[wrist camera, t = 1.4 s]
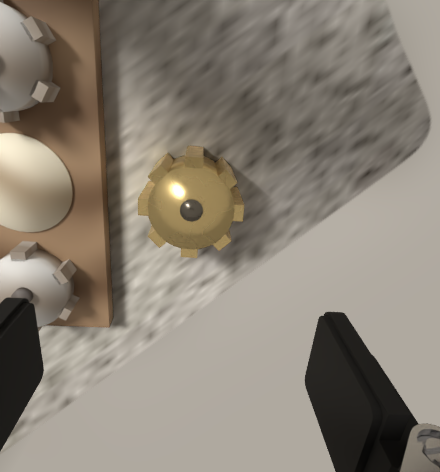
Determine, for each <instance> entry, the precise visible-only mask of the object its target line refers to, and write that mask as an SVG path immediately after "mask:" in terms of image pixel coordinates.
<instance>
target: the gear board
mask: <svg viewBox="0 0 440 472" xmlns="http://www.w3.org/2000/svg"><path fill="white" fill-rule="evenodd" d="M8 297H10V298H26V299H28V300H29V303H33V304H34V307H35V313H36V320H37V326H38V332H39V330H40V329H41V327H42V326H45V325H54V326H83V327H110V324H111V322H112V319H113V301H112V280H111V259H110V237H109V216H108V195H107V173H106V152H105V131H104V109H103V88H102V67H101V45H100V24H99V3H98V0H0V303H1V302H2V301H3V300H4V299H5V298H8Z"/></svg>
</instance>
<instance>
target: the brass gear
mask: <svg viewBox="0 0 440 472" xmlns="http://www.w3.org/2000/svg"><path fill="white" fill-rule="evenodd" d="M148 177H149V178H150V180H151V181H148V183H147V185H146V186H145V188H144V190H143V191H142V193H141V194H140V196H139V198H138V215H143V216H149V219H150V222H151V224H152V226H151V229H150V232H149V234H148V237H149V238H150V239H151V240H152V241H153V242H154V243H155V244H156V245H157V246H158V247H159V248H160V247H161V246H162V245H164V244H165V243H166V242H168V243H169V244H171V245H173V246H176V247H179V248H181V257H191V258H197V252H198V249H201V248H205V247H208V246H210V245H212V244H213V245H214V246H215V248H216V249H217V250H218V251H220V250H221V249H222V248H223V247H225V246H226V245H227V244H228V243H230V242H231V236H230V231H229V228H230V226H231V224H232V221H242V222H243V214H244V203H243V200H242V198H241V195H240V193H239V190H238V187H233V186H234V185H236V184H237V180H236V178H235V175H234V173H233V170H232V168H231V167H230V166H229V164H228V163H227V162H226V161H225V160H224V158H223V157H221V158H220V159H219V160H218V161H216V162H214V161H212V160H211V159H209V158H207V157H204V156H203V147H198V146H188V147H187V151H186V155H184V156H180V157H178V158H176V159H173V158H172V157H171V155H170V154H169V153H167V154H166V155H165V156H163V157H162V158H161V159H160V160H159V161H158V162H157V163H156V165H155V166H154V168H153V169H152V171H151V172H150V174H149V175H148Z"/></svg>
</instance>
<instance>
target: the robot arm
mask: <svg viewBox="0 0 440 472" xmlns="http://www.w3.org/2000/svg"><path fill="white" fill-rule="evenodd" d="M43 370H44V368H43V361H42V354H41V347H40V340H39V333H38V326H37V320H36V313H35V307H34V304H33V303H29V300H28V299H26V298H10V297H8V298H5V299H4V300H3V301H2V302H1V303H0V451H1V449H2V448H3V446H4V444H5V442H6V441H7V439H8V437H9V435H10V434H11V432H12V430H13V428H14V427H15V425H16V423H17V421H18V420H19V418H20V416H21V414H22V413H23V411H24V409H25V407H26V406H27V404H28V402H29V400H30V399H31V397H32V395H33V393H34V392H35V390H36V388H37V386H38V385H39V383H40V381H41V379H42V376H43ZM305 386H306V389H307V392H308V395H309V398H310V401H311V403H312V406H313V409H314V412H315V415H316V417H317V420H318V423H319V426H320V429H321V432H322V434H323V437H324V440H325V443H326V446H327V449H328V451H329V454H330V457H331V460H332V462H333V465H334V468H335V471H336V472H440V427H438V426H436V425H431V424H418V423H417V421H416V419H415V418H414V416H413V415H412V413H411V412H410V410H409V409H408V407H407V406H406V404H405V403H404V401H403V400H402V398H401V397H400V395H399V394H398V392H397V391H396V389H395V388H394V386H393V384H392V383H391V381H390V380H389V378H388V377H387V375H386V374H385V373H384V371H383V369H382V368H381V366H380V365H379V363H378V362H377V360H376V359H375V358H374V356H373V355H371V353H370V352H369V350H368V349H367V347H366V345H365V344H364V343H363V341H362V339H361V338H360V336H359V335H358V333H357V332H356V330H355V329H354V327H353V326H352V324H351V323H350V321H349V319H348V318H347V316H346V315H345V314H344V313H341V312H326V313H325V314H324V316H320V317H319V320H318V324H317V328H316V332H315V337H314V341H313V345H312V349H311V354H310V358H309V362H308V366H307V371H306V375H305Z"/></svg>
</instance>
